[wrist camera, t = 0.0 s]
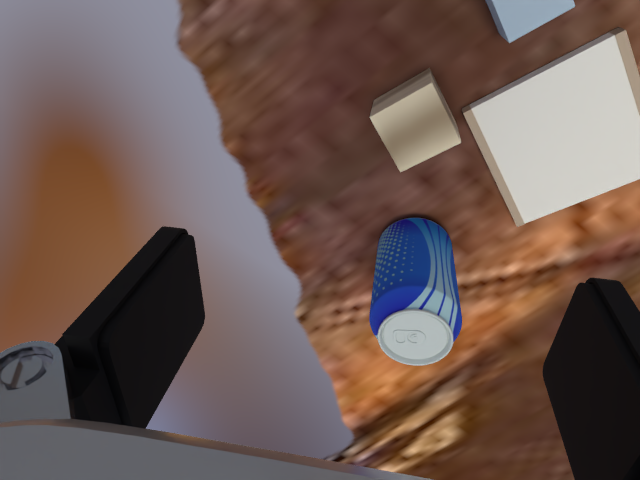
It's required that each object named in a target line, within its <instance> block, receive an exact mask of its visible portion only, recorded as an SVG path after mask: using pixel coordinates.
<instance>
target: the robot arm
mask: <svg viewBox="0 0 640 480" xmlns="http://www.w3.org/2000/svg"><path fill="white" fill-rule="evenodd" d="M204 319H205V312H204V305H203V297H202V290H201V283H200V276H199V269H198V263H197V255H196V248H195V241H194V237H193V236H192V235H188V232H187V230H185V229H182V228H174V227H161V228H160V229H159V230H158V231H157V232H156V233H155V235H154V236H153V237H152V238H151V239H150V240H149V241H148V242H147V243H146V244H145V245H144V246H143V248H142V249H141V250H140V251H139V252H138V253H137V254H136V255H135V256H134V257H133V258H132V260H130V262H129V263H128V264H127V265H126V266H125V267H124V268H123V269H122V270H121V271H120V272H119V274H118V275H117V276H116V277H115V278H114V279H113V280H112V281H111V282H110V284H108V285H107V287H106V288H105V289H104V290H103V291H102V292H101V293H100V294H99V295H98V296H97V297H96V298H95V300H94V301H93V302H92V303H91V304H90V305H89V306H88V307H87V308H86V309H85V310H84V311H83V312H82V314H81V315H80V316H79V317H78V318H77V319H76V320H75V321H74V322H73V323H72V324H71V325H70V327H69V328H68V329H67V330H66V331H65V332H64V333H63V336H62V337H61V338H60V339H59V340H58V341H57V342H56V344H53V343H49V342H44V341H31V342H27V343H22V344H19V345H16V346H14V347H11V348H9V349H6V350H5V351H3V352H1V353H0V480H432V479H427V478H422V477H416V476H411V475H405V474H400V473H394V472H389V471H383V470H378V469H372V468H367V467H361V466H356V465H350V464H345V463H339V462H334V461H328V460H322V459H317V458H311V457H306V456H300V455H295V454H289V453H283V452H278V451H272V450H267V449H261V448H255V447H249V446H243V445H238V444H232V443H227V442H221V441H215V440H209V439H204V438H198V437H192V436H187V435H181V434H175V433H169V432H162V431H156V430H150V429H145V428H146V427H147V425H148V423H149V421H150V420H151V418H152V416H153V414H154V412H155V411H156V409H157V407H158V405H159V403H160V402H161V400H162V398H163V396H164V395H165V393H166V391H167V389H168V388H169V386H170V384H171V382H172V380H173V379H174V377H175V375H176V373H177V372H178V370H179V368H180V366H181V364H182V363H183V361H184V359H185V357H186V356H187V354H188V352H189V350H190V348H191V347H192V345H193V343H194V341H195V340H196V338H197V336H198V334H199V333H200V331H201V329H202V326H203V324H204ZM543 378H544V382H545V385H546V388H547V391H548V395H549V398H550V401H551V404H552V408H553V411H554V414H555V417H556V420H557V424H558V427H559V430H560V433H561V436H562V440H563V443H564V446H565V449H566V453H567V456H568V459H569V462H570V465H571V469H572V472H573V475H574V478H575V480H640V312H639V310H638V308H637V307H636V305H635V304H634V302H633V301H632V299H631V297H630V296H629V294H628V293H627V291H626V290H625V288H624V287H623V285H622V284H621V283H620V282H619V281H616V280H607V279H599V278H589V279H588V280H587V281H586V283H579V284H578V285H577V287H576V289H575V292H574V294H573V296H572V299H571V301H570V303H569V306H568V308H567V310H566V313H565V315H564V317H563V320H562V322H561V324H560V327H559V329H558V331H557V334H556V336H555V339H554V341H553V343H552V346H551V348H550V350H549V353H548V355H547V357H546V360H545V362H544V365H543Z"/></svg>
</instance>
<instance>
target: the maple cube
mask: <svg viewBox="0 0 640 480" xmlns="http://www.w3.org/2000/svg"><path fill="white" fill-rule="evenodd" d="M369 118H370V119H371V121H372V123H373V125H374V126H375V128H376V130H377V132H378V133H379V135H380V137H381V139H382V141H383V142H384V144H385V146H386V148H387V149H388V151H389V153H390V155H391V156H392V158H393V160H394V162H395V163H396V165H397V167H398V169H399V170H400V172H402V171H404V170H406V169H408V168H410V167H412V166H414V165H417V164H419V163H421V162H423V161H425V160H427V159H429V158H431V157H433V156H435V155H437V154H439V153H441V152H443V151H445V150H447V149H449V148H451V147H453V146H456V145H458V144H460V143H461V139H460V135H459V132H458V128H457V124H456V121H455V119H454V117H453V115H452V113H451V111H450V109H449V107H448V105H447V103H446V101H445V99H444V96H443V94H442V92H441V90H440V88H439V86H438V84H437V82H436V80H435V78H434V76H433V74H432V72H431V70H430V68H429V69H427V70H425V71H423V72H422V73H420V74H418V75H416V76H415V77H413V78H411V79H410V80H408V81H406V82H404V83H403V84H401V85H399V86H397V87H396V88H394V89H392V90H390V91H389V92H387V93H385V94H383V95H382V96H380V97H378V98H376V99H375V100H374V102H373V106H372V110H371V113H370V117H369Z"/></svg>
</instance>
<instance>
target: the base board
mask: <svg viewBox="0 0 640 480" xmlns="http://www.w3.org/2000/svg"><path fill="white" fill-rule="evenodd" d="M462 112H463V114H464V116H465V119H466V121H467V123H468V125H469V127H470V129H471V131H472V133H473V135H474V137H475V140H476V142H477V144H478V146H479V148H480V150H481V152H482V154H483V156H484V158H485V161H486V163H487V165H488V167H489V169H490V171H491V173H492V175H493V177H494V179H495V182H496V184H497V186H498V188H499V190H500V192H501V194H502V196H503V198H504V200H505V203H506V205H507V207H508V209H509V211H510V213H511V215H512V217H513V219H514V221H515V224H516V226H517V227H519V226H521V225H524V224H525V223H527V222H530V221H533V220H535V219H538V218H540V217H543V216H545V215H548V214H551V213H553V212H556V211H558V210H561V209H564V208H566V207H569V206H571V205H574V204H576V203H579V202H582V201H584V200H587V199H589V198H592V197H594V196H597V195H600V194H602V193H605V192H607V191H610V190H613V189H615V188H618V187H620V186H623V185H625V184H628V183H631V182H633V181H636V180H638V179H640V76H639V72H638V69H637V66H636V62H635V59H634V56H633V52H632V49H631V46H630V42H629V39H628V35H627V32H626V30H625V29H622V28H619V27H618V28H616V29H614V30H612V31H610V32H608V33H606V34H604V35H602V36H600V37H599V38H597V39H595V40H593V41H591V42H589V43H587V44H585V45H583V46H581V47H579V48H577V49H575V50H573V51H572V52H570V53H568V54H566V55H564V56H562V57H560V58H558V59H556V60H554V61H552V62H550V63H548V64H547V65H545V66H543V67H541V68H539V69H537V70H535V71H533V72H531V73H529V74H527V75H525V76H523V77H521V78H520V79H518V80H516V81H514V82H512V83H510V84H508V85H506V86H504V87H502V88H500V89H498V90H496V91H495V92H493V93H491V94H489V95H487V96H485V97H483V98H481V99H479V100H477V101H475V102H473V103H471V104H469V105H468V106H466V107H464V108H462Z"/></svg>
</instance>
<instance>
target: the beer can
mask: <svg viewBox="0 0 640 480" xmlns="http://www.w3.org/2000/svg"><path fill="white" fill-rule="evenodd" d="M370 325H371V328H372V331H373V333H374V335H375V336H376V338H377V339H378V342H379V345H380V347H381V348H382V350H383V351H384V352H385V353H386V354H387V355H388V356H389V357H390V358H392V359H394V360H396V361H398V362H400V363H404V364H408V365H427V364H431V363H434V362H437V361H439V360H441V359H442V358H444V357H445V356H446V355H447V354H448V353H449V351H450V350H451V348H452V345H453V342H454V341H455V339H456V338H457V336H458V335H459V332H460V330H461V326H462V316H461V308H460V301H459V294H458V286H457V279H456V272H455V265H454V257H453V250H452V243H451V240H450V237H449V236H448V234H447V232H446V231H445V230H444V229H443V228H442V227H441V226H440V225H438V224H436V223H435V222H433V221H430V220H427V219H423V218H406V219H402V220H399V221H397V222H395V223H393V224H392V225H390V226H389V227H388V228H387V229H386V230H385V231H384V232H383V233H382V235H381V237H380V239H379V242H378V249H377V257H376V266H375V274H374V282H373V291H372V299H371V308H370Z"/></svg>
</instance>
